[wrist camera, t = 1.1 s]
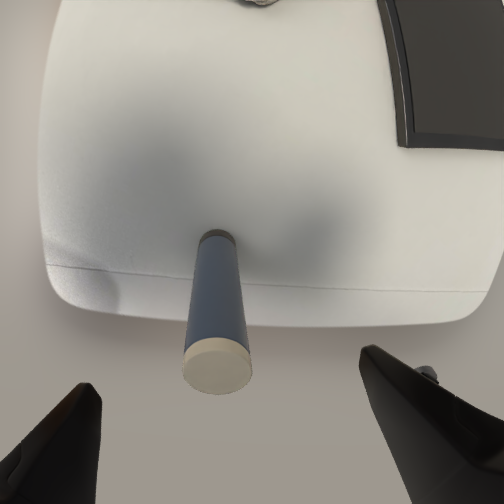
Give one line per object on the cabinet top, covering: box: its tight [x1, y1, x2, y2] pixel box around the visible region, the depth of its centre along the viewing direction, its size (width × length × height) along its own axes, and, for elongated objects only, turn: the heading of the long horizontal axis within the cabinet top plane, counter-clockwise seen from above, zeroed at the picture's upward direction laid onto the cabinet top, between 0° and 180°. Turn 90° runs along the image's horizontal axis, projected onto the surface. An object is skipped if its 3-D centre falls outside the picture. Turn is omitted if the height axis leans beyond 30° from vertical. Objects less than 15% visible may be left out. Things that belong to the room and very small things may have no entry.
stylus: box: [182, 230, 252, 395], centre depth 13 cm, size 2×2×10 cm
